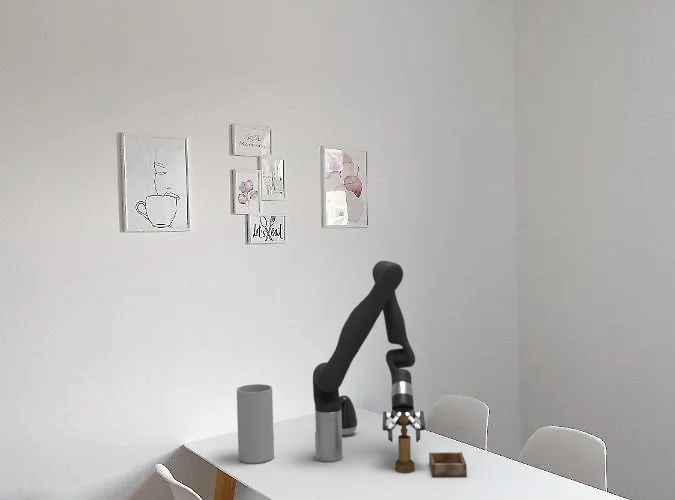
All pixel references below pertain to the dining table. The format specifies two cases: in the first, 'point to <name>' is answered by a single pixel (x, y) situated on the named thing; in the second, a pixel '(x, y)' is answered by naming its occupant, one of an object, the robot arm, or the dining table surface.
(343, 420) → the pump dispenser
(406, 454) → the brown wooden chess piece
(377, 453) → the dining table surface
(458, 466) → the box
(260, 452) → the cylinder vase
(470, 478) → the dining table surface
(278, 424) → the dining table surface
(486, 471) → the dining table surface
